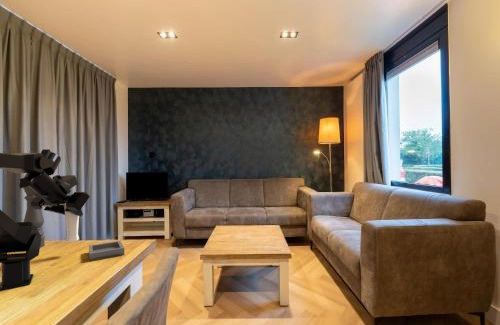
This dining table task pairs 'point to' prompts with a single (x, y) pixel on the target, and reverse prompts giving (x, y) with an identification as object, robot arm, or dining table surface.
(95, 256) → the gray tray
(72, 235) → the perfume bottle
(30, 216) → the candle holder
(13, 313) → the dining table surface
